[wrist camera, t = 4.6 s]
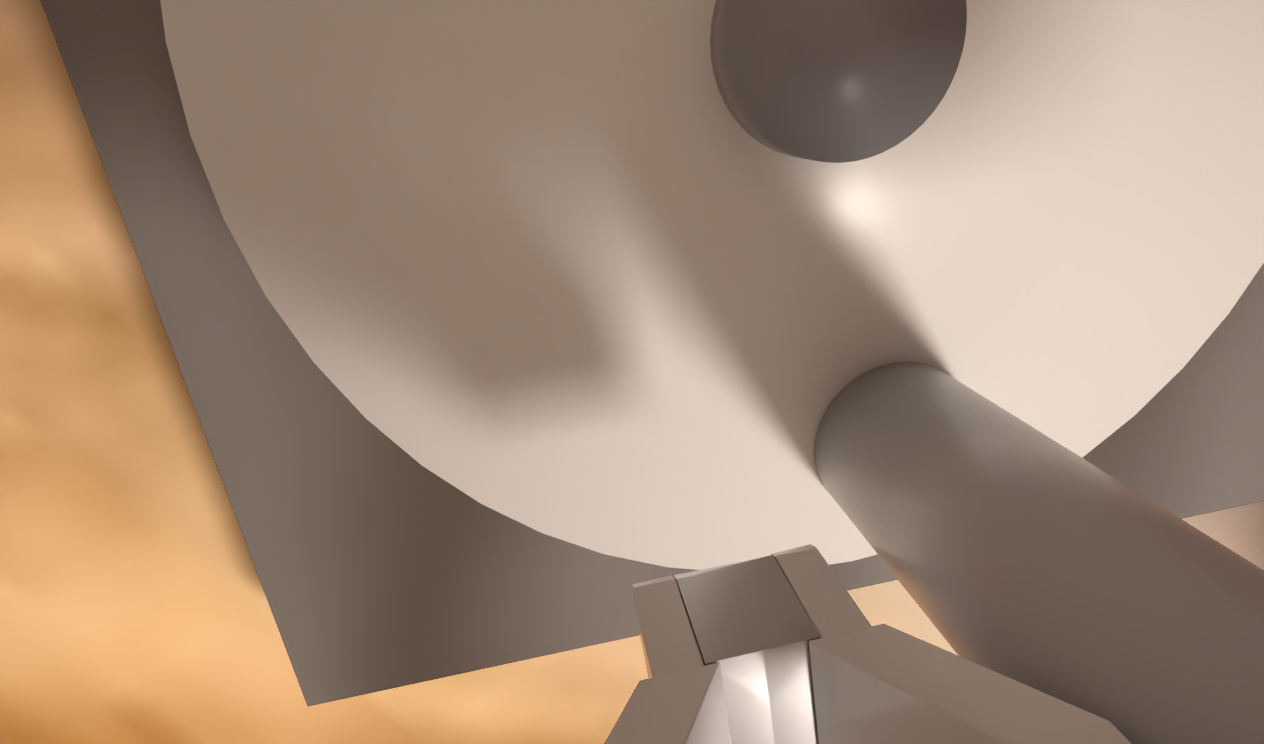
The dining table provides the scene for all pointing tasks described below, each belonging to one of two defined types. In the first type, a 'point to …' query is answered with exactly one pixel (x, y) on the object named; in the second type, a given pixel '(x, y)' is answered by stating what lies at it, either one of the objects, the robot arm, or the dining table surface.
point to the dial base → (419, 499)
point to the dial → (782, 287)
